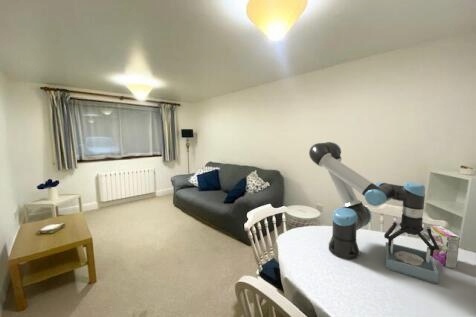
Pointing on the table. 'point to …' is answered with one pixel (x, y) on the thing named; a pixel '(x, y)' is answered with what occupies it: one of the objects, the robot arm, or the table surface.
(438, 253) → the candy bar box
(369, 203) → the robot arm
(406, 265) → the bin
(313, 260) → the table surface
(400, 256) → the fossil
